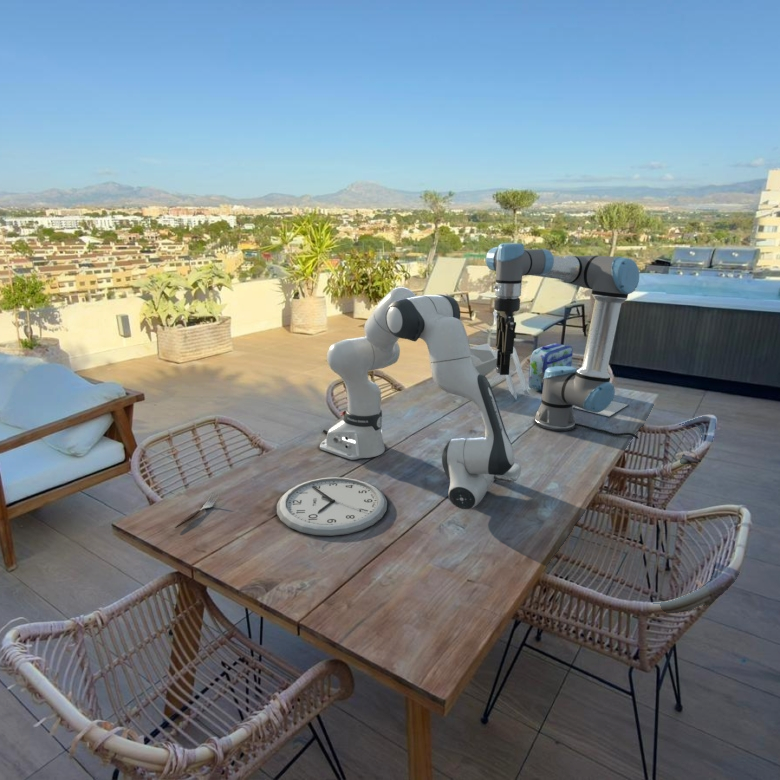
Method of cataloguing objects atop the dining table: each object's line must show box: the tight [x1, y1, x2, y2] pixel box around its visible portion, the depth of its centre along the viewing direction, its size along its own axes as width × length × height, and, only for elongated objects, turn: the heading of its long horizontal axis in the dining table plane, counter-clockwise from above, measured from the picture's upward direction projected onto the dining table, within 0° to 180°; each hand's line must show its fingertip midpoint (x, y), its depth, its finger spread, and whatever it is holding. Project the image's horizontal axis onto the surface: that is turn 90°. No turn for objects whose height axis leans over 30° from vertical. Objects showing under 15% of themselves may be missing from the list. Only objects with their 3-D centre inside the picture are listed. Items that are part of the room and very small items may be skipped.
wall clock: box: [276, 476, 388, 537], centre depth 142 cm, size 30×2×30 cm
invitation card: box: [573, 400, 629, 418], centre depth 226 cm, size 21×1×15 cm
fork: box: [174, 492, 220, 529], centre depth 137 cm, size 3×16×2 cm, turn 160°
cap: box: [495, 365, 500, 374], centre depth 163 cm, size 4×4×2 cm
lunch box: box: [528, 343, 574, 392], centre depth 249 cm, size 26×11×21 cm, turn 134°
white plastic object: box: [470, 310, 531, 400], centre depth 245 cm, size 37×45×31 cm
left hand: (491, 456), depth 160 cm, fingers closed on bottle, 5 cm apart
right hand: (502, 372), depth 163 cm, fingers closed on cap, 4 cm apart
